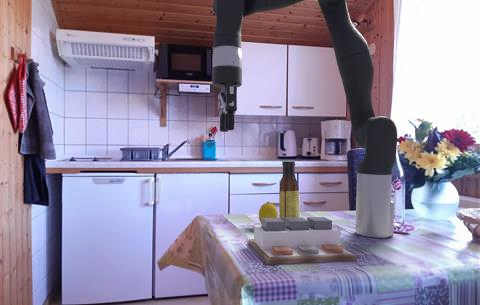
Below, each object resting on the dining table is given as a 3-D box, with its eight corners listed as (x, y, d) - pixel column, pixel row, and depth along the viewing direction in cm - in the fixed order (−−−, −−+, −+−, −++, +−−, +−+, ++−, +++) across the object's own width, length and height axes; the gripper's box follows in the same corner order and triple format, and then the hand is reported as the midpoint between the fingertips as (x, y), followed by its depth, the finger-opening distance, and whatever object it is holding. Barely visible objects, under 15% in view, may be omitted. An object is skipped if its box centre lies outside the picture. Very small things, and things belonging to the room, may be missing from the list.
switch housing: (324, 239, 89) (325, 223, 89) (340, 247, 81) (340, 230, 81) (253, 241, 85) (254, 224, 85) (262, 250, 77) (263, 232, 77)
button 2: (301, 233, 85) (301, 217, 85) (308, 238, 81) (309, 221, 81) (284, 234, 84) (284, 217, 84) (290, 238, 80) (291, 221, 80)
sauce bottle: (301, 222, 113) (303, 161, 112) (294, 225, 107) (295, 161, 107) (283, 219, 116) (285, 160, 116) (275, 223, 111) (276, 160, 111)
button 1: (323, 233, 87) (323, 216, 86) (331, 237, 82) (332, 220, 82) (306, 233, 86) (307, 217, 86) (314, 238, 81) (314, 221, 81)
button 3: (278, 234, 84) (279, 217, 84) (284, 239, 80) (285, 221, 80) (261, 234, 83) (261, 218, 83) (266, 239, 79) (266, 221, 79)
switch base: (323, 240, 91) (324, 231, 91) (356, 260, 75) (356, 249, 75) (248, 243, 87) (249, 233, 87) (267, 264, 71) (267, 253, 71)
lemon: (276, 231, 100) (276, 203, 100) (257, 229, 101) (257, 202, 101) (278, 227, 105) (278, 200, 105) (259, 225, 106) (260, 199, 106)
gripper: (247, 61, 83) (247, 130, 83) (236, 73, 97) (235, 132, 97) (216, 59, 81) (215, 129, 81) (209, 72, 95) (208, 131, 95)
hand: (226, 131), depth 89 cm, fingers open, 8 cm apart
